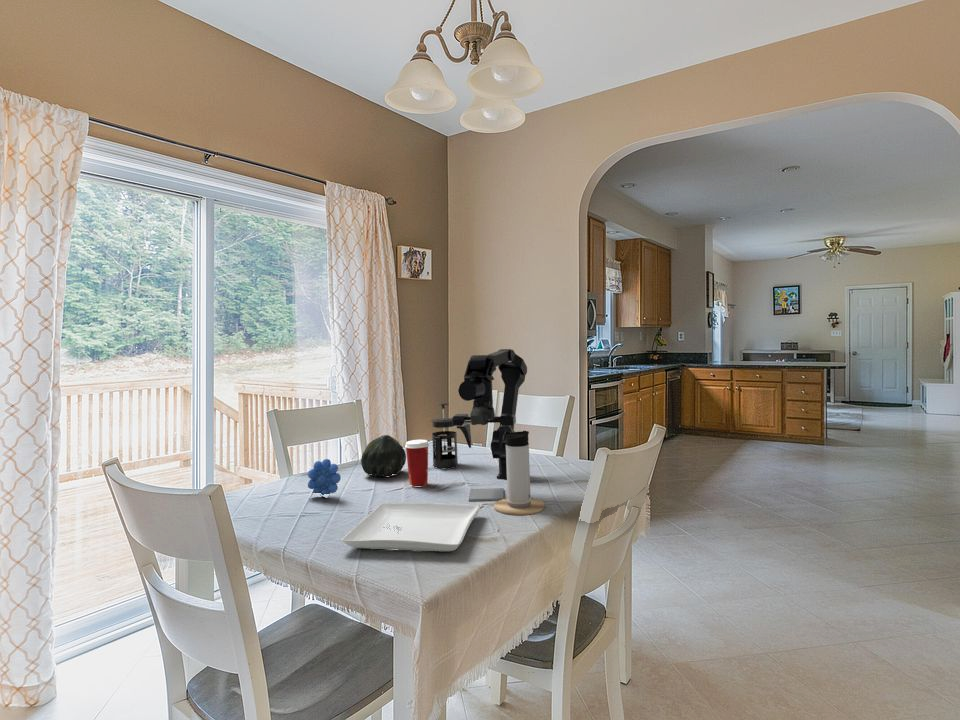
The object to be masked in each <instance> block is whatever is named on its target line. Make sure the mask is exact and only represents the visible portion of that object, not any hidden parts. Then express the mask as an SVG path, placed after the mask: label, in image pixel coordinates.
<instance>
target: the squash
mask: <svg viewBox="0 0 960 720" xmlns="http://www.w3.org/2000/svg"><path fill="white" fill-rule="evenodd" d="M403 447H404V446H402V445H401V443H399V441H398V440H396V439H395V438H394V437H392V436H390V435H388V434H385V435H384V434H383V435H382V436H378V437H377V438H375V439H373V440H372V441H370V442H369V443H368V444H367V445H366V447H365V449H364V450H363V452H362V453H361V458H360V462H361V467H362V469H363V471H364V473H365V474H366V475H369V474H372V475H371V476H374V475H376V476H378V477H382V476H383V475H384V476H390V477H392V476H391V475H392V474H397V475H398V474H399V473H400V472H401V471H402V470H403V469H404V466H405V464H406V463H407V462H406V461H407V453H406V451H405V449H404V448H403ZM399 471H400V472H399ZM381 475H382V476H381ZM384 476H383V477H384Z"/></svg>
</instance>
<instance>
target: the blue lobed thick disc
mask: <svg viewBox="0 0 960 720" xmlns="http://www.w3.org/2000/svg"><path fill="white" fill-rule="evenodd" d="M338 471H339V467H338V464H336V463H332V462H331V459H329V458H325V459H323V460H322V461H320V460H317V461H315V462H314V463H313V468H311V469H310V470H308V473H307V477H308V478H309V480H308V482H307V488H309V489H310V490H312V494H313V493H321V494H322V495H324V494H330V495H331V494H334V493H335V494H336V493H337V491H338V488H339V487H338V484H339V482H340V481H341V475H340V473H337V472H338Z"/></svg>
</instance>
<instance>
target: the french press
mask: <svg viewBox="0 0 960 720" xmlns="http://www.w3.org/2000/svg"><path fill="white" fill-rule="evenodd" d="M448 405H449V402H439V403H437V406H441V409H442V416H443V417H442V418H441V417H440V418H434V419H431V423H432V427H433V428H438V429H439V428H440V429H442V428H443V430H441V431H435V432H432V433H431V438H432V439H431V440H432V463H433V464H432V467H433V466H434V467H437V468H451V469H453V468H452V467H455V468H457V467H459V461H458V459H459V458H458V443H457V442H458V441H457V440H458V438H457V431H453V430H445V429H446V428H452V427H454V426H453V425H452V418H453V417H445V411H444V409H445V406H448ZM453 439H454V440H453ZM452 440H453V441H454V446H453V444H452ZM443 444H444V445H443ZM453 452H454V454H453ZM456 466H457V467H456Z"/></svg>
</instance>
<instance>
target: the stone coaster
mask: <svg viewBox="0 0 960 720" xmlns="http://www.w3.org/2000/svg"><path fill="white" fill-rule="evenodd" d="M504 494H505V493H504V488H503V487H498V488H497V487H495V488H493V487H490V488H489V487H488V488H487V487H486V488H470V489H469V495H468V502H488V501H489V502H490V501H496V502H498V501H500V500H503V499H505V498H504Z"/></svg>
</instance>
